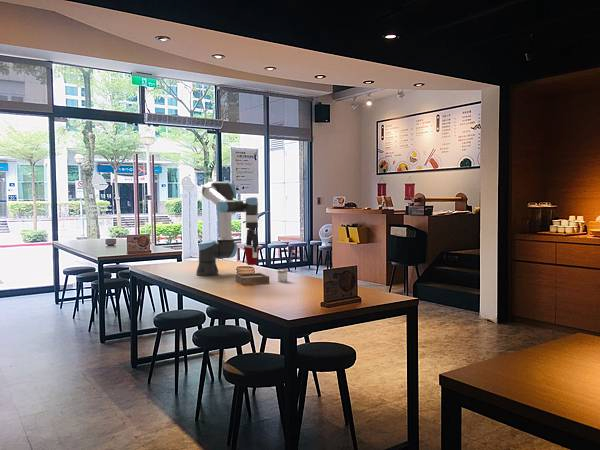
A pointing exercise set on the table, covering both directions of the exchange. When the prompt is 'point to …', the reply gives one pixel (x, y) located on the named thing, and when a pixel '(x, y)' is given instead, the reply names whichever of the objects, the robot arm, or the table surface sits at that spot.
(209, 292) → the table surface
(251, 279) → the walnut riser
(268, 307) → the table surface
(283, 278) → the ceramic sugar jar
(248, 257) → the plastic cup
